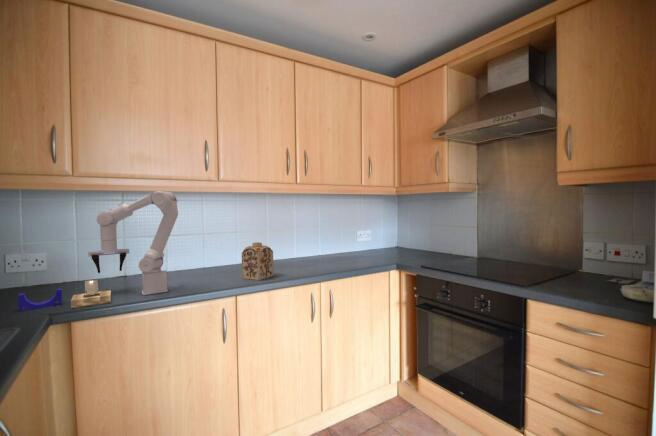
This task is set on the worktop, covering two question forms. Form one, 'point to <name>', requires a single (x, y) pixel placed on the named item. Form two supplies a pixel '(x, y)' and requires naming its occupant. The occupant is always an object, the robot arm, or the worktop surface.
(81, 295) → the pocket block
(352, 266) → the worktop surface
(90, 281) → the pin
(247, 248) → the decorative jar
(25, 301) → the blue curved cradle
